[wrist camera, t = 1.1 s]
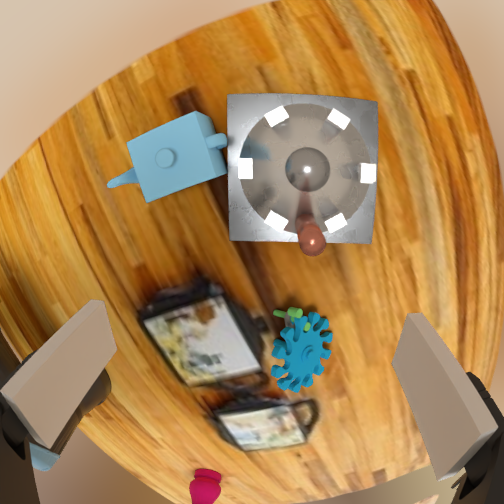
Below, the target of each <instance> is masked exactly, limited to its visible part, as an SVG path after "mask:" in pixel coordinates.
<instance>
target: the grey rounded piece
mask: <svg viewBox="0 0 504 504" xmlns="http://www.w3.org/2000/svg"><path fill="white" fill-rule="evenodd" d="M350 120H351V119H349V118H348V117H346V116H345V115H343V114H342V113H340V112H339V111H337V110H336V109H334V108H333V109H332V110H331V109H329V108H326V107H324V106H320V105H316V104H307V103H303V104H292V105H287V106H284V107H283V106H280V107H278V108H276V109H274V110H273V111H271V112H269V113H267V114H265V115H264V117H263V118H262V119H261V120H259V121H258V122H257V123H256V124H255V126H254V127H253V128H252V129H251V131H250V132H249V134H248V135H247V137H246V139H245V141H244V143H243V146H242V149H241V153H240V158H239V159H238V168H239V179H240V182H241V186H242V189H243V192H244V194H245V196H246V198H247V200H248V202H249V203H250V205H251V206H252V208H253V209H254V210H255V211H256V212H257V213H258V215H260V216H261V217H262V218H263V219H264V220H265V221H264V222H265V223H267V224H268V225H270V226H272V227H274V228H275V229H277V230H279V231H280V232H282V230H284V231H287V232H290V233H295V234H297V236H298V240H299V244H300V248H301V250H302V251H303V253H305V254H306V255H309V256H316V255H319V254H320V253H322V252H323V251H324V249H325V247H326V239H325V237H324V235H323V232H326V231H329V232H330V233H332V232H334V231H335V230H337V229H339V228H341V227H343V226H345V225H347V223H346V221H347V220H348V219H349V218H351V216H352V215H353V214H354V213H355V212H356V211H357V210H358V208H359V207H360V206H361V204H362V202H363V200H364V199H365V197H366V194H367V191H368V188H369V184H370V183H372V184H373V173H374V164H371V163H370V156H369V153H368V149H367V147H366V144H365V142H364V140H363V138H362V136H361V135H360V133H359V132H358V131H357V129H356V128H355V127H354V126H353V125H352V124H351V123H350V122H349V121H350Z"/></svg>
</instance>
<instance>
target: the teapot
mask: <svg viewBox="0 0 504 504" xmlns="http://www.w3.org/2000/svg"><path fill="white" fill-rule="evenodd" d="M226 146H227V137H226V135H225V134H224V133H219V134H216V131H215V128H214V125H213V122H212V119H211V118H210V117H208V116H206V115H204V114H202V113H199V112H197V111H194V112H192V113H189V114H187V115H184V116H182V117H180V118H177V119H175V120H173V121H170V122H168V123H166V124H164V125H161V126H159V127H157V128H155V129H153V130H151V131H149V132H147V133H145V134H143V135H141V136H138V137H136V138H135V139H133V140H131V141H129V142H127V147H128V150H129V153H130V156H131V159H132V162H133V166H134V167H133V168H131V169H130V170H128V171H127V172H125V173H123V174H121V175H119V176H117V177H115V178H113V179H111V180H110V181H109V182H108V183H107V187H108V188H114V187H117V186H120V185H123V184H129V183H140V186H141V189H142V192H143V195H144V198H145V200H146V203H148V202H151V201H153V200H156V199H158V198H161V197H163V196H166V195H169V194H171V193H174V192H177V191H179V190H182V189H185V188H187V187H190V186H193V185H196V184H198V183H201V182H204V181H207V180H210V179H213V178H215V177H218V176H221V175H224V174H226V173H228V167H227V164H226V161H225V158H224V155H223V152H222V148H224V147H226Z"/></svg>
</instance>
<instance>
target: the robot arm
mask: <svg viewBox="0 0 504 504" xmlns="http://www.w3.org/2000/svg"><path fill="white" fill-rule="evenodd" d="M0 330H1V328H0ZM116 351H117V347H116V344H115V340H114V337H113V333H112V330H111V326H110V323H109V319H108V315H107V311H106V307H105V303H104V301H100V300H92V299H91V300H90V301H89V302H88V303H87V304H86V305H84V306H83V307H82V308H81V309H80V310H79V311H78V312H77V313H76V314H75V315H74V316H73V317H71V318H70V319H69V320H68V321H67V322H66V323H65V324H64V325H63V326H62V327H61V328H60V329H59V330H58V331H57V332H56V333H55V334H54V335H53V336H52V337H51V338H50V339H49V340H48V341H47V342H46V343H45V344H44V345H43V346H42V347H41V348H40V349H38V350H36V351H34V352H33V353H31V354H29V355H28V356H27V357H26V358H25V359H24V360H23V361H22V364H21V363H20V361H19V360H18V358H17V357H16V355H15V354H14V352H13V350H12V349H11V347H10V346H9V344H8V342H7V341H6V339H5V338H4V336H3V334H2V333H1V331H0V504H40V501H39V497H38V492H37V488H36V483H35V478H34V473H33V467H34V468H36V469H38V470H41V471H48V470H50V469H51V468H52V466H53V465H54V463H55V462H56V461H57V459H58V458H60V454H61V452H62V451H63V449H64V447H65V446H66V444H67V442H68V441H69V439H70V437H71V436H72V434H73V432H74V430H75V429H76V427H77V426H78V424H79V422H80V421H81V419H82V418H83V416H84V415H85V414H87V413H88V412H90V411H91V410H92V409H93V408H94V407H95V406H97V405H100V404H101V403H103V402H104V401H105V399H106V398H107V396H108V395H109V393H110V391H111V383H110V379H109V377H108V375H107V373H106V371H105V369H104V367H105V366H106V365H107V363H108V362H109V360H110V359H111V358H112V356H113V355H114V354H115V352H116ZM391 364H392V366H393V368H394V370H395V372H396V375H397V377H398V379H399V381H400V384H401V386H402V388H403V391H404V393H405V395H406V398H407V400H408V403H409V405H410V407H411V410H412V412H413V415H414V417H415V420H416V422H417V425H418V427H419V430H420V433H421V435H422V438H423V441H424V443H425V446H426V449H427V452H428V455H429V457H430V460H431V463H432V466H433V469H434V472H435V475H436V478H437V481H440V480H443V479H446V478H449V477H452V476H454V475H456V474H457V473H458V472H459V471H460V470H461V469H462V468H463V467H465V470H466V473H464V474H463V475H462V476H461V477H460V478H459V479H458V480H457V481H456V482H455V483H454V484H453V486H452V487H451V488H454V487H456V486H457V485H458V484H459V483H460V484H459V486H458V488H457V491H456V494H455V496H454V498H453V501H452V503H451V504H504V417H503V415H502V413H501V412H500V410H499V409H498V407H497V405H496V404H495V402H494V400H493V399H492V398H490V397H491V396H490V394H489V393H488V391H486V388H485V387H484V385H483V384H482V382H481V381H480V379H479V378H477V377H476V376H475V375H474V374H472V373H471V372H467V373H465V371H464V370H463V369H462V367H461V366H460V364H459V363H458V361H457V360H456V358H455V357H454V355H453V354H452V353H451V351H450V350H449V348H448V347H447V346H446V344H445V343H444V341H443V340H442V339H441V337H440V336H439V335H438V333H437V332H436V331H435V329H434V328H433V327H432V325H431V324H430V323H429V321H428V320H427V319H426V317H425V316H424V315H423V314H422V313H408V314H407V316H406V320H405V323H404V327H403V330H402V333H401V336H400V340H399V343H398V346H397V349H396V352H395V355H394V358H393V361H392V363H391Z"/></svg>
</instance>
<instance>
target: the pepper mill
mask: <svg viewBox="0 0 504 504" xmlns="http://www.w3.org/2000/svg"><path fill="white" fill-rule="evenodd" d="M194 478H195V480H193V481H191V483H190V487H189V489H190V494H191V498H192V504H213V503H214V501H215V500H216V499H217V498H218V497H219V495H220V492H221V487H220V486H219V483H220V481H221V475H220V474H219V473H218V472H215V471H213V470H208V469H198V470H196V471H195V475H194Z"/></svg>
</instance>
